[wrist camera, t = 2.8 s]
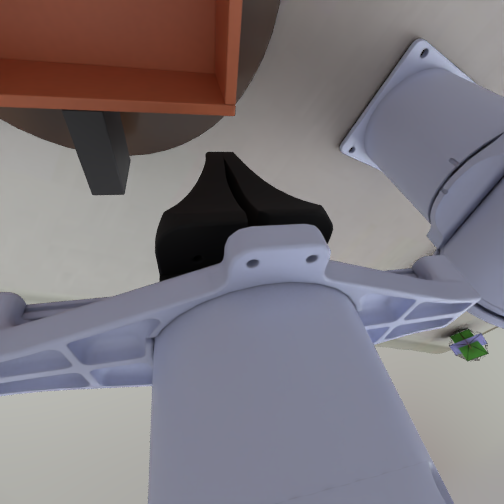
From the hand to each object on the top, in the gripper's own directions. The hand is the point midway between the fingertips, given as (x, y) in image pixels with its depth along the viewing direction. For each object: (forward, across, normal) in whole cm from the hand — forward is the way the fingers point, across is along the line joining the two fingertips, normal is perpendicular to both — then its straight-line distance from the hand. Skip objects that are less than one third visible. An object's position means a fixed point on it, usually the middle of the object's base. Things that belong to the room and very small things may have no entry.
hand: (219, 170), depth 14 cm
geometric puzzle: (+7, -57, +46) cm, 73 cm away
